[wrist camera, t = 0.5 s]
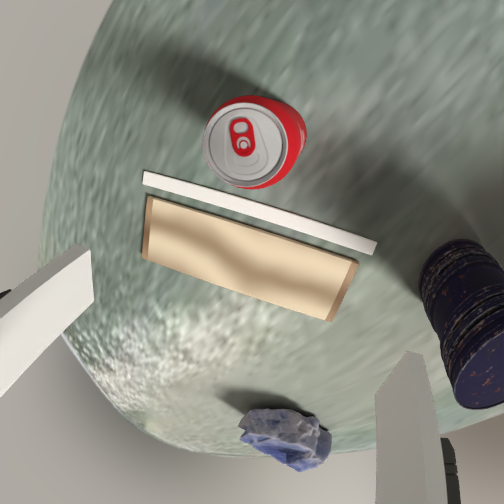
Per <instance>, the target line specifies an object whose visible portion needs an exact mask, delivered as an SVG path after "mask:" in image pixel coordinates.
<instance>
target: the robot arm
mask: <svg viewBox="0 0 504 504" xmlns="http://www.w3.org/2000/svg"><path fill="white" fill-rule="evenodd" d="M93 302H94V294H93V284H92V271H91V255H90V249H89V248H86V247H84V246H81V245H79V244H76V245H75V246H73V247H72V248H70V249H69V250H67V251H66V252H64V253H63V254H62V255H60V256H59V257H57V258H56V259H54V260H53V261H51V262H50V263H49V264H47V265H46V266H44V267H43V268H42V269H40V270H39V271H37V272H36V273H35V274H33V275H32V276H31V277H29V278H28V279H26V280H25V281H24V282H22V283H21V284H20V285H18V286H17V287H16V288H15V289H13V290H11V289H9V290H7V291H4V292H2V293H0V397H1V396H2V395H3V394H4V393H5V392H6V391H7V390H8V389H9V388H10V386H11V385H12V384H13V383H14V382H15V381H16V380H17V379H18V377H19V376H20V375H21V374H22V373H23V372H24V371H25V370H26V369H27V368H28V367H29V366H30V364H32V362H33V361H34V360H35V359H36V358H37V357H38V356H39V355H40V354H41V353H42V352H43V351H44V350H45V349H46V348H47V347H48V346H49V345H50V344H51V343H52V342H53V341H54V340H55V339H56V338H57V337H58V336H59V335H60V334H61V333H62V332H63V331H64V330H65V329H66V328H67V327H68V326H69V325H70V324H71V323H72V322H73V321H74V320H75V319H76V318H77V317H78V316H79V315H80V314H81V313H82V312H83V311H84V310H85V309H86V308H87V307H88V306H89V305H91V304H92V303H93ZM375 410H376V443H377V472H376V502H375V503H376V504H461V501H460V490H459V480H458V476H457V466H456V465H455V464H456V459H455V452H454V449H453V447H452V445H451V443H450V441H449V439H448V438H440V434H439V428H438V422H437V417H436V411H435V406H434V401H433V397H432V392H431V387H430V383H429V379H428V374H427V370H426V366H425V362H424V358H423V355H421V354H417V353H413V352H409V351H406V353H405V354H404V356H403V357H402V359H401V360H400V361H399V363H398V364H397V366H396V367H395V368H394V370H393V371H392V373H391V374H390V375H389V377H388V378H387V379H386V381H385V382H384V383H383V385H382V386H381V387H380V389H379V390H378V391H377V392H376V394H375Z"/></svg>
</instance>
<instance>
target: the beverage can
mask: <svg viewBox="0 0 504 504" xmlns="http://www.w3.org/2000/svg"><path fill="white" fill-rule="evenodd" d="M306 137H307V131H306V126H305V123H304V120H303V119H302V117H301V115H300V114H299V113H298V112H297V111H296V110H295V109H294V108H293V107H291V106H289V105H287V104H285V103H282V102H279V101H275V100H272V99H268V98H265V97H261V96H253V95H247V96H240V97H236V98H234V99H231V100H229V101H227V102H226V103H224V104H223V105H221V106H220V107H219V108H218V109H217V110H216V111H215V112H214V113H213V114H212V116H211V117H210V119H209V121H208V123H207V125H206V128H205V131H204V135H203V144H202V145H203V153H204V157H205V160H206V162H207V164H208V166H209V167H210V169H211V170H212V171H213V172H214V174H215V175H216V176H218V177H219V178H220V179H221V180H223V181H225V182H227V183H229V184H231V185H233V186H236V187H238V188H243V189H260V188H265V187H268V186H271V185H273V184H275V183H277V182H278V181H280V180H281V179H282V178H283V177H285V176H286V174H287V173H288V172H289V171H290V170H291V168H292V167H293V165H294V163H295V161H296V160H297V158H298V156H299V155H300V153H301V151H302V150H303V148H304V146H305V143H306Z"/></svg>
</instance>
